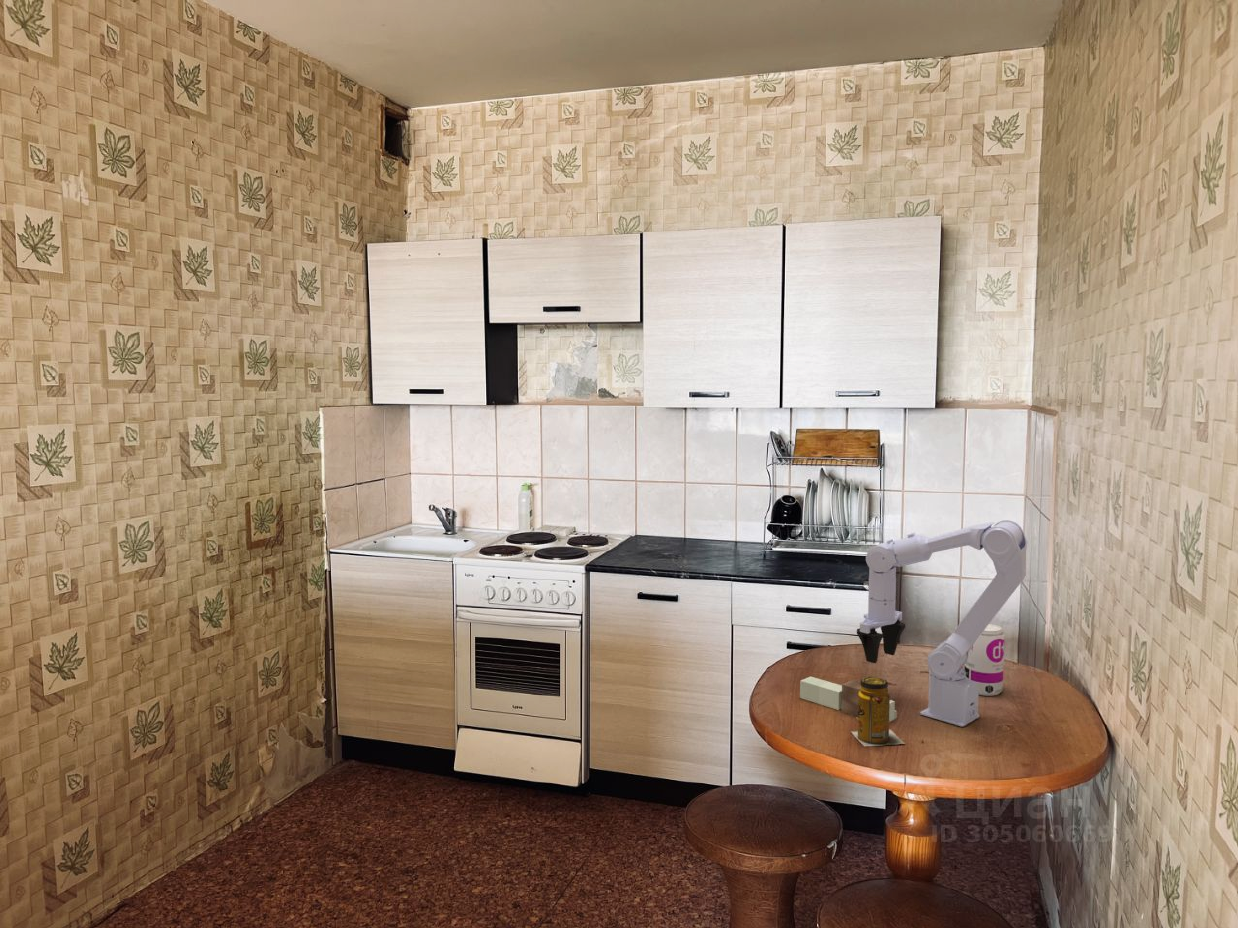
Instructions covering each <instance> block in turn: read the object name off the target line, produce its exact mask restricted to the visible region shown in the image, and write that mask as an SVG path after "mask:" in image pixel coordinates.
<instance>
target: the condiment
mask: <svg viewBox="0 0 1238 928" xmlns="http://www.w3.org/2000/svg"><path fill="white" fill-rule="evenodd" d="M860 679H861V680H860V681H859V682H860V684H861V687H860V692H859V693H858V716H857V723H856V724H857V731H851V730H850V733H852V735H853V737H855V738H856V739H857V741H858V742H859V743H860V744H861V745H862V746H863V747H881V746H882V747H884V746H888V745H890V746H892V745H894V746H895V745H900V744H901V745H904V744H905V745H906V742H904V741H903V740H902V739H901V738H899V736H897V735H896V733H895V732H893V730H892V729H890V722H889V706H890V700H891V699H890V698H891V696H890V694H889V689H888V687H889V682H888V681H887V680H886V679H884V678H882V677H877V676H865V677H863V678H860Z"/></svg>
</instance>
